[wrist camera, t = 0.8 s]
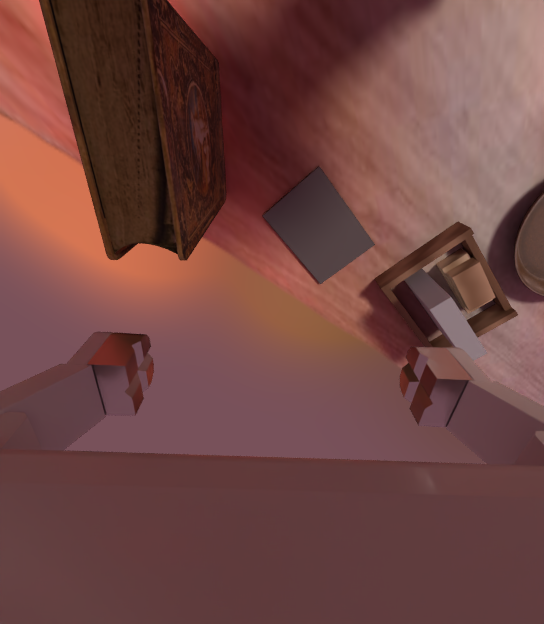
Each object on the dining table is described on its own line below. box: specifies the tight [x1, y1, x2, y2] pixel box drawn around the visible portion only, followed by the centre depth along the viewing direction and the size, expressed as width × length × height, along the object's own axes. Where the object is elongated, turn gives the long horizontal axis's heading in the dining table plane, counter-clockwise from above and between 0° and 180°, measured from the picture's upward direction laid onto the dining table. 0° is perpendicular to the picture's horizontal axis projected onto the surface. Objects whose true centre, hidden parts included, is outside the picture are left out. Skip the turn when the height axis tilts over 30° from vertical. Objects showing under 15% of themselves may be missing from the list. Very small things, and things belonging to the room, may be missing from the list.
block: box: [404, 268, 487, 361], centre depth 49 cm, size 3×12×10 cm, turn 40°
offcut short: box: [446, 257, 496, 311], centre depth 48 cm, size 4×7×2 cm, turn 37°
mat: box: [263, 167, 375, 284], centre depth 47 cm, size 10×14×1 cm
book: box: [39, 0, 226, 260], centre depth 30 cm, size 16×6×25 cm, turn 0°
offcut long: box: [436, 249, 493, 314], centre depth 50 cm, size 4×10×2 cm, turn 39°
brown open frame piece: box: [375, 222, 518, 348], centre depth 51 cm, size 14×18×4 cm
